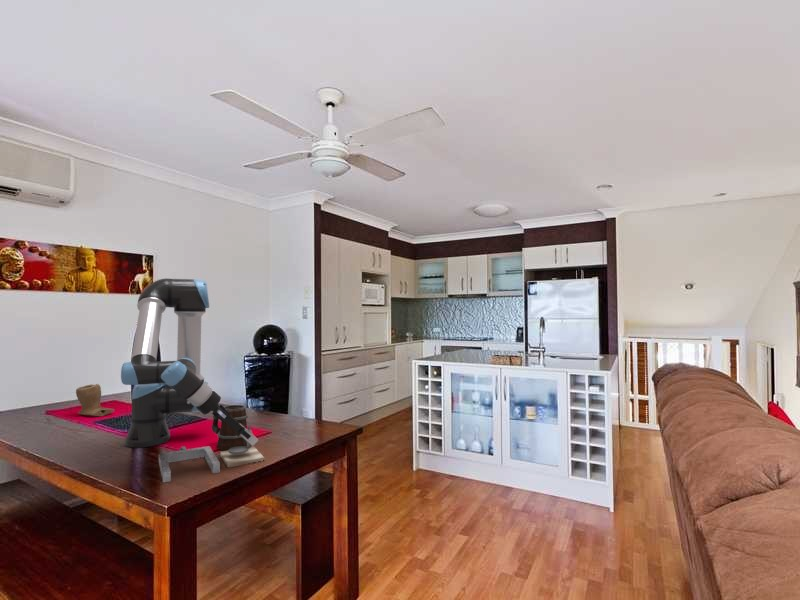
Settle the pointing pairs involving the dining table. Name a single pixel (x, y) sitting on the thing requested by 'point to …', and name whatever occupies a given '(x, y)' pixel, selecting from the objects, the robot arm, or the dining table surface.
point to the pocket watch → (241, 448)
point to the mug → (230, 429)
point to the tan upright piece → (91, 401)
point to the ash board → (241, 457)
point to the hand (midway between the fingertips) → (252, 439)
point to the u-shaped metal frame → (186, 455)
